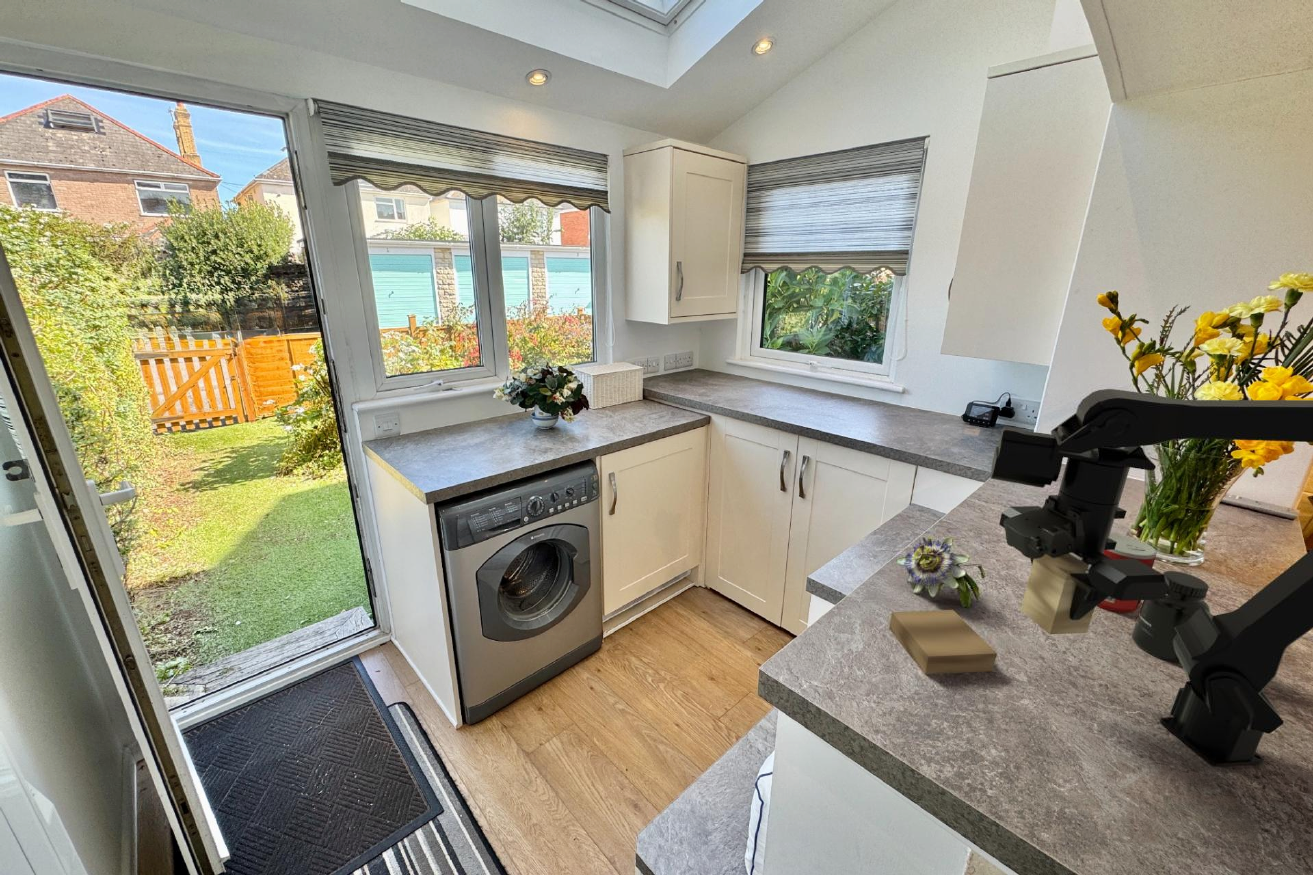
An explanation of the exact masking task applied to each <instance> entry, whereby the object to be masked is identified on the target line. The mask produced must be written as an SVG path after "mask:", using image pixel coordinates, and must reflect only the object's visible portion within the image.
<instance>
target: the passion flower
mask: <svg viewBox="0 0 1313 875" xmlns="http://www.w3.org/2000/svg"><path fill="white" fill-rule="evenodd" d="M922 541H923V542H920V541H919V542H918V544H917V543H915V545H914V546H912V548H913V549H914V550H913V551H912V552H907V553H906V555H905V556H904V557H899V558H897V559H895V562H896V563H897V564H898V565H900V566H901V567H902V566H903V567H906V571H907V573H908V577H907V580H906V582H907V584H908V583H909V584H914V585H915V586H914V588H913V594H915V595H917V594H918V595H919V594H921V593H923V592H924V590H925V589H926V588H927V591H928V592H927V593H928V594H929V596H930V597H931V598H935V597H937V596H938V595H939V594H940V592H941V590H942V587H943V585H945V586H947V587H949V588H951V589H953V590H954V589H955V590H956V589H957V590H956V591H957V593H958V597H959V600H960V603H961V606H962V607H965V608H967V609H968V608H969V607H970V606H971V601H972V593H973V595H974V598H975V603H976V604H977V603H979V597H980V592H979V591H980V588H979V586H978V584H977V583H976V582H975V580H974V579H973V577H972V576H970V575H969V574H968V573H967V571H966V570H965V569H963V568H961V567H969V566H977V568H978V570H979V571H980V575H981V578H982V579H985V578H986V573H985V571H984V569H983V564H981V563H974V564H973V563H972V564H971V563H970V564H964V563H967V562H969V561H970V555H968V554H963V553H954V552H951V551H952V550H951V549H952V546H953V543H954V540H953V538H952V536H947V537H945V538H944V539H942V540H939V539H938V540H937V539H936V540H935V539H933V538H932V537H928V538H927V539H926V537H922ZM961 564H963V565H961Z"/></svg>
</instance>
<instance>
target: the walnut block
mask: <svg viewBox="0 0 1313 875" xmlns="http://www.w3.org/2000/svg"><path fill="white" fill-rule="evenodd" d="M888 629H889V630H890V631H891V633H892V634H893V635H894V636H896V637H895V638H896V640H897V641H898V642H899V643H900V644H901V646H902V647H903V648H904V650H905V651H906V652H907V653H908V655H909V656H910V657H911V659H912V660H913V662H915V664H917V666H918V667H919V669H920V670H921V671H922V673H923V674H924V675H938V674H939V675H940V674H942V675H945V674H959V673H961V674H962V673H982V672H984V673H985V672H993V671H994V667H995V663H996V659H997V656H998V655H997V654H998V652H996V651H995V650H994V649H993V648H992V647H991V646H990V645H989V644H988V643H987V642H986V641H985V640H984V639H983V638H982V637H981V636H980V635H979V634H978V633H977V632H976V631H975V630H974V629H973V628H972V627H971V626H970V625H969V624H968V623H967V622H966V621H965V620H964V619H963V618H962V617H961V616H960V615H959V614H958V613H957V612H956V611H955V610H953V609H944V610H943V609H940V610H939V609H937V610H935V609H934V610H918V611H917V610H916V611H915V610H914V611H910V610H909V611H891V616H890V623H889V627H888Z"/></svg>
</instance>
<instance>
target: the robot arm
mask: <svg viewBox="0 0 1313 875" xmlns="http://www.w3.org/2000/svg"><path fill="white" fill-rule="evenodd" d="M1189 439H1190V440H1191V439H1196V440H1197V439H1198V440H1199V439H1200V440H1228V441H1229V440H1230V441H1231V440H1233V441H1262V442H1263V441H1264V442H1265V441H1267V442H1298V443H1300V442H1301V443H1313V399H1311V400H1309V399H1308V400H1305V399H1303V400H1302V399H1300V400H1299V399H1298V400H1294V399H1287V400H1285V399H1279V400H1278V399H1277V400H1276V399H1274V400H1273V399H1271V400H1270V399H1266V400H1263V399H1261V400H1260V399H1259V400H1258V399H1257V400H1256V399H1245V400H1243V399H1241V400H1240V399H1235V400H1234V399H1203V400H1202V399H1182V398H1181V399H1180V398H1173V397H1168V396H1162V395H1161V396H1160V395H1156V394H1150V393H1144V392H1139V391H1129V390H1122V389H1114V388H1106V389H1098V390H1095V391H1092V392H1091V393H1089V394H1088V395H1087V396H1085V397H1084V398H1083V399H1081V401H1080V403H1079V404H1078V405H1077V409H1076V411H1075V413H1073V415H1071V416H1069V417H1068V418H1066V419H1065V420H1064V421H1062V422H1061V423H1059V424H1058V425H1057V426H1056V427H1055V428H1053V429H1052V430H1051V431H1050V433H1043V432H1037V431H1036V432H1035V431H1028V430H1022V429H1020V428H1017V427H1011V426H1003V427H1002V430H1001V434H1000V437H999V439H998V444H997V446H995V447H994V452H993V459H992V463H991V468H990V470H991V471H990V479H991V480H996V481H1002V482H1007V483H1008V482H1009V483H1013V484H1018V485H1024V486H1030V487H1036V488H1041V489H1043V488H1045V486H1046V485H1047V486H1051V485H1052V483H1053V482H1055V483H1056V482H1057V481H1058V479H1059V478H1060V473H1061V470H1062V466H1063V465H1062V464H1063V460H1064V458H1066V459H1067V460H1066V463H1065V467H1064V470H1063V474H1062V479H1061V482H1060V486H1059V490H1058V494H1049V495H1048V497H1047V498H1046V499H1045V500H1044V504H1043V506H1042V507H1041V506H1040V505H1030V506H1029V505H1026V506H1024V505H1023V506H1021V505H1020V506H1019V505H1018V506H1015V505H1014V506H1008V507H1007V508H1006V509H1005V510H1003V511H1002V512H1001V515H1000V519H999V523H998V525H999V526H1001V527H1003V529H1004V533H1005V539H1006V543H1007V545H1008V546H1009V547H1012V548H1014V549H1015V550H1016V551H1019V552H1020V553H1021V554H1022V556H1024V557H1025V558H1028V559H1030V562H1031V565H1032V564H1033V560H1034V559H1038V558H1041V557H1043V556H1044V555H1046V554H1047V555H1048V556H1050V557H1052V558H1057V557H1060V556H1062V555H1065V554H1068V553H1069V554H1071V555H1073V556H1074V557H1076V558H1078V559H1079V560H1081V561H1083V562H1085V563H1086V564H1088V565H1089V566H1088V569H1087V570H1086V572H1085V573H1071V574H1070V576H1071V577H1072V579H1073V580H1074V581H1075V583H1076V588H1075V592H1074V596H1073V600H1072V604H1071V608H1070V619H1072V620H1080V619H1081V618H1082V617H1084V616H1085V615H1086V614H1087V613H1089V612H1090V611H1091V610H1092V609H1094V610H1095V608H1096V607H1098V606H1097V605H1099V604H1100V603H1101V602H1102V601H1104V600H1105V599H1106V598H1108V597H1109V596H1110V597H1111V598H1114V599H1117V600H1120V601H1133V600H1141V601H1144V600H1161V599H1165V596H1166V593H1167V591H1168V588H1169V581H1168V580H1167V578H1166V577H1165V575H1164V574H1163V573H1162V572H1160V571H1159V570H1157V569H1155V568H1153V567H1152V568H1151V567H1149V566H1147V565H1145V564H1144V563H1142V562H1140V561H1138V560H1136V559H1111V558H1109V557H1107V556H1106V555H1104V554H1102V553H1103V552H1104V550H1115V547H1116V544H1117V542H1116V541H1114V540H1112V539H1110V538H1109V535H1110V534H1111V530H1112V528H1113V524H1114V521H1115V520H1117V519H1118V520H1122V519H1124V520H1125V518H1126V515H1127V512H1128V511H1127V510H1125V509H1123V508H1121V507H1120V506H1119V505H1120V502H1121V498H1122V495H1123V491H1124V489H1125V485H1126V483H1127V482H1126V481H1127V479H1128V476H1129V472H1130V470H1131V469H1132V468H1133V469H1138V470H1145V471H1154V470H1156V469H1157V466H1156V465H1155V463H1154V462H1153V461H1152V460H1151V459H1150V458H1149V457H1148V456H1147V455H1146V453H1145V450H1144V448H1143V447H1147V446H1153V445H1155V446H1156V445H1160V444H1164V443H1168V442H1173V441H1178V440H1179V441H1180V440H1189ZM1175 630H1176V631H1177V633H1178V634H1177V635H1176V636H1175V637H1174V640H1173V646H1174V650H1175V653H1176V655H1177V657H1178V659H1179V661H1180V662H1179V663H1180V664H1181V667H1182V668H1183V670H1184V672H1185V674H1186V677H1187V678H1188V680H1189V681H1186V682H1185V684H1184V687H1180V688H1178V692H1177V693H1176V696H1175V699H1174V702H1173V704H1172V706H1171V709H1170V711H1169V712H1170V713H1169V714H1170V716H1169V717H1168V716H1166V717H1160V719H1159V723H1160V724H1161V725H1162V726H1164V727H1165V728H1166V729H1167V730H1168V731H1170V732H1171V733H1172V734H1173V735H1175V736H1176V737H1177V738H1179V740H1181V741H1182V742H1183V743H1184V744H1185V745H1187V746H1188V747H1189V748H1190V749H1192V750H1193V751H1194V752H1195V753H1197V754H1198V755H1199V756H1200V757H1202V758H1203V759H1204V760H1205V761H1206V762H1207V763H1209V764H1211V765H1212V766H1214V767H1226V766H1245V765H1256V764H1257V765H1258V764H1263V763H1264V760H1265V758H1264V757H1263V756H1261V754H1260V755H1259V753H1257V748H1258V746H1259V744H1260V743H1261V740H1262V738H1263V736H1264V733H1265V734H1271V733H1273V732H1275V730H1277V729H1278V728H1280V727H1281V726H1282V725H1284V723H1285V722H1284V720H1283V718H1282V716H1281V715H1280V714H1279V712H1278V711H1277V709H1276V708H1275V707H1274V705H1273V703H1272V702H1271V701H1270V699H1269V698H1268V696H1267V694H1266V693H1265V692H1264V690H1265V688H1267V687H1268V686H1269V685H1270V683H1271V682H1272V681H1273V680H1274V678H1275V677H1276V676H1277V673H1278V671H1279V668H1280V665H1281V662H1282V659H1283V658H1284V655H1285V652H1286V650H1287V649H1288V648H1289V647H1290V646H1291V645H1292V644H1293V643H1295V642H1296V641H1298V640H1299V639H1301V638H1302V637H1303V636H1305V634H1307V633H1309V632H1310V631H1311V630H1313V548H1312V549H1311V550H1309V551H1308V552H1306V554H1304V555H1303V556H1301V558H1299V559H1298V560H1296V562H1294V563H1293V564H1292V565H1290V566H1289V567H1288V568H1287V569H1286V570H1284V571H1283V572H1282V573H1281V574H1279V575H1278V576H1277V577H1276V578H1274V579H1273V580H1272V581H1271V582H1269V583H1268V584H1267V585H1266V586H1264V587H1263V588H1261V589H1260V590H1259V591H1258V592H1257V593H1256V594H1254V595H1252V597H1251V598H1249V599H1248V600H1247V601H1246V602H1244V603H1243V604H1242V605H1241V606H1240V607H1238V608H1236V609H1235V610H1232V611H1229V612H1228V611H1227V612H1225V613H1220V614H1215V615H1213V614H1212V613H1211V612H1210V613H1209V612H1208V611H1207V610H1205V609H1204V608H1200V609H1199V610H1197V611H1196V612H1195V613H1194V615H1193V616H1192V617H1191V618H1190V619H1189V620H1188V621H1187V622H1185V623H1184V624H1182V625H1179V626H1176V627H1175Z"/></svg>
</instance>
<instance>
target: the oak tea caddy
mask: <svg viewBox="0 0 1313 875" xmlns="http://www.w3.org/2000/svg"><path fill="white" fill-rule="evenodd" d="M1088 566H1089V565H1088V564H1086V563H1085V562H1083V561H1081V560H1079V559H1078V558H1076V557H1074V556H1073V555H1071V554H1069V553H1068V554H1065V555H1062V556H1060V557H1057V558H1052V557H1050V556H1048V555H1047V554H1046V555H1044V556H1043V557H1041V558H1038V559H1034V560H1033V564H1031V568H1030V572H1029V576H1028V580H1027V583H1026V584H1027V585H1026V587H1025V592H1024V595H1023V599H1022V602H1021V607H1020V612H1022V613H1023V614H1024V615H1025V616H1027V617H1028V618H1029V619H1031V620H1032V621H1033V622H1034V623H1035V624H1036V625H1037V626H1039V627H1040V628H1042V630H1044V631H1045V632H1046V633H1047V634H1048V635H1067V634H1070V635H1071V634H1087V632H1088V630H1089V628H1090V625H1091V620H1092V617H1093V613H1094V611H1095V608H1094V609H1092V610H1091V611H1090V612H1089V613H1087V614H1086V615H1085V616H1084V617H1082V618H1081V619H1080V620H1072V619H1070V608H1071V604H1072V600H1073V596H1074V592H1075V588H1076V583H1075V581H1074V580H1073V579H1072V577H1071V576H1070V574H1071V573H1085V572H1086V570H1087V569H1088Z"/></svg>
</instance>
